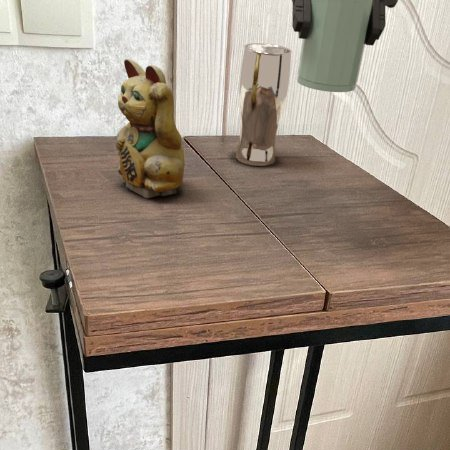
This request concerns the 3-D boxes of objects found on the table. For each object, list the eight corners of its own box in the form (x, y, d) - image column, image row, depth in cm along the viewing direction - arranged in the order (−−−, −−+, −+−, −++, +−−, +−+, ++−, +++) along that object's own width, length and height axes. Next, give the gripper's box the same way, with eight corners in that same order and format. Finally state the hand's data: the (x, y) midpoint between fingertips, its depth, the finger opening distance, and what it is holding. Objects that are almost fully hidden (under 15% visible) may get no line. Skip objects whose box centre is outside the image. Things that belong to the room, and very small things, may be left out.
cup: (348, 79, 67) (366, -14, 61) (361, 94, 62) (382, -5, 57) (293, 74, 66) (306, -20, 61) (301, 89, 61) (317, -11, 56)
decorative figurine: (105, 182, 83) (101, 55, 73) (151, 170, 88) (153, 49, 78) (155, 206, 78) (157, 74, 69) (201, 192, 83) (209, 67, 74)
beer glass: (286, 160, 96) (302, 50, 87) (263, 171, 91) (277, 56, 82) (247, 148, 99) (259, 40, 89) (223, 158, 94) (233, 46, 85)
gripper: (274, -172, 57) (271, 1, 55) (426, -153, 58) (428, 16, 57) (260, -100, 64) (258, 55, 63) (395, -84, 66) (396, 67, 64)
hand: (338, 36), depth 60 cm, fingers closed on cup, 6 cm apart
